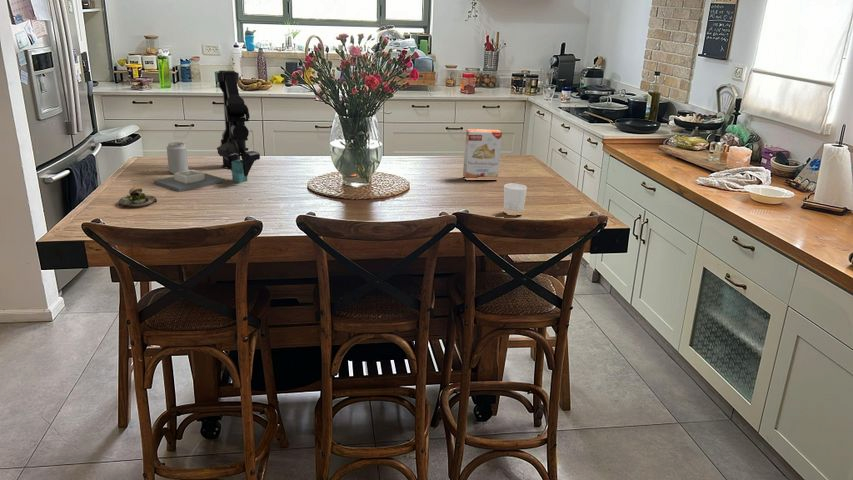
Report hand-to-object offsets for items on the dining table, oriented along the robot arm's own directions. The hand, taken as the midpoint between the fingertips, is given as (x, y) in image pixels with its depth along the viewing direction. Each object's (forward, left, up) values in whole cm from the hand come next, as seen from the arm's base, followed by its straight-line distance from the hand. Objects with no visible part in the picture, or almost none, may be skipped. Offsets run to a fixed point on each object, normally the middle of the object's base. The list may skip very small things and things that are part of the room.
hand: (239, 174), depth 259 cm
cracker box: (-72, +66, -3) cm, 98 cm away
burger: (+43, 0, -3) cm, 43 cm away
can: (+9, -27, -3) cm, 29 cm away
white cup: (-40, +100, -3) cm, 108 cm away
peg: (0, 0, -3) cm, 3 cm away
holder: (+15, -11, -2) cm, 19 cm away
